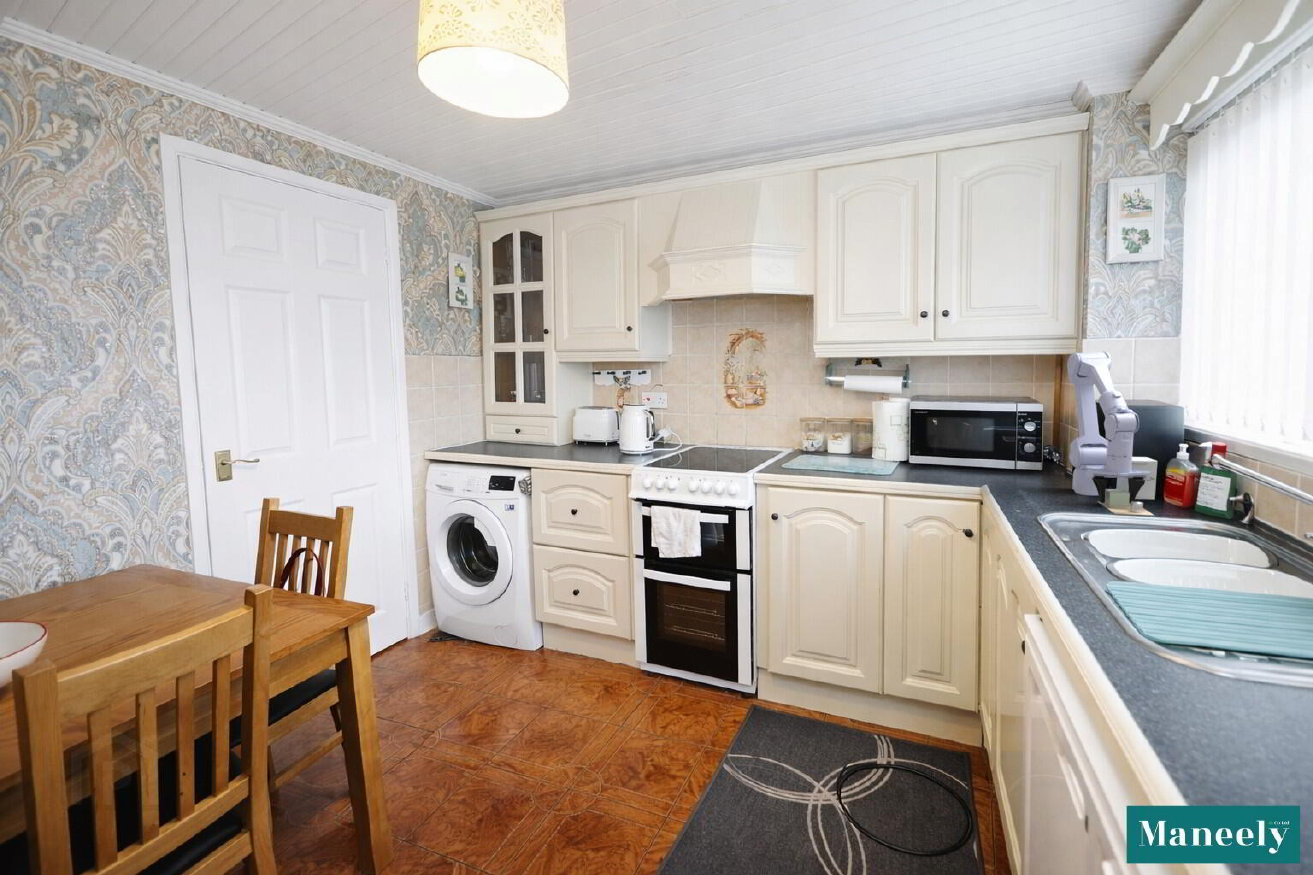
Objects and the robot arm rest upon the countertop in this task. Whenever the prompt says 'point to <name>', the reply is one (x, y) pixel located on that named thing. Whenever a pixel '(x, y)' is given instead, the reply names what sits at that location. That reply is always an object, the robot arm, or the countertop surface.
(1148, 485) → the supplement box
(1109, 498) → the pale green block
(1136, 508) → the silver knob
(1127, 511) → the board
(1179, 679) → the countertop surface
